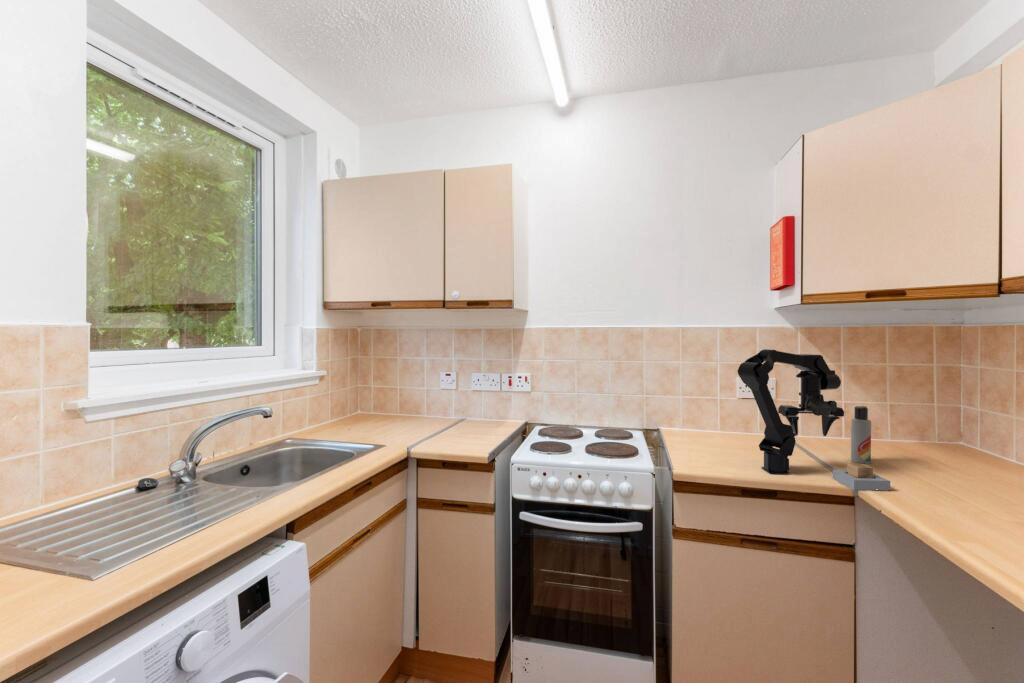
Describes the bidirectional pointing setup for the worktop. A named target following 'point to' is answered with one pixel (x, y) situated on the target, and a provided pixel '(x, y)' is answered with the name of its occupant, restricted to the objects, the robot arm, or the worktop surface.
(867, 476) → the peg
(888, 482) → the socket block
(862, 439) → the lotion bottle
